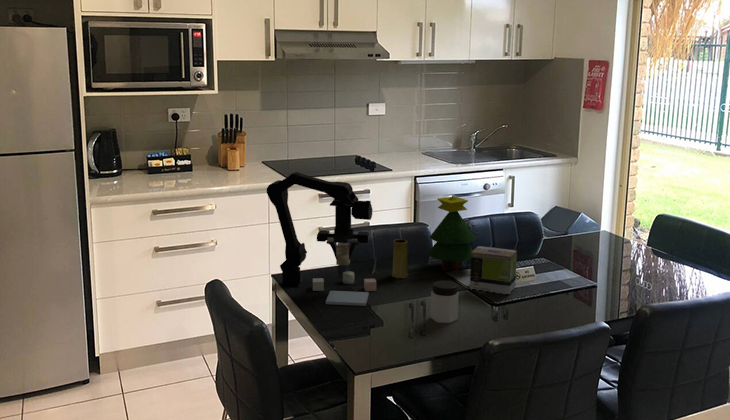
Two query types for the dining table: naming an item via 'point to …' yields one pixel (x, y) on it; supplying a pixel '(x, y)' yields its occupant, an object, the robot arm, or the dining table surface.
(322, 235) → the robot arm
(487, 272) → the tea box
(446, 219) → the decorative tree
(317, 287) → the off-white block
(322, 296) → the dining table surface
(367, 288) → the pink block
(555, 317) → the dining table surface
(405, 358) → the dining table surface
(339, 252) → the birch block
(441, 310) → the jar
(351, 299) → the blue board
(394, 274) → the vase
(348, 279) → the sage cylinder
